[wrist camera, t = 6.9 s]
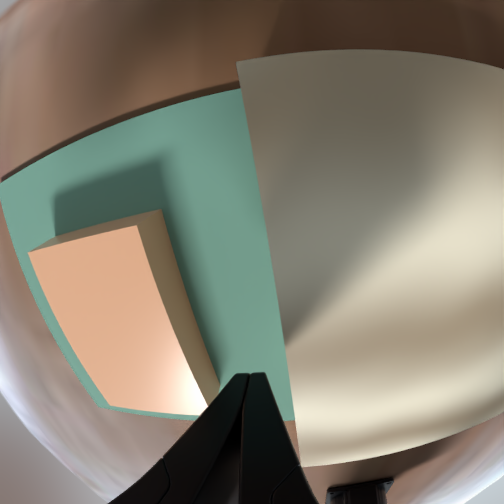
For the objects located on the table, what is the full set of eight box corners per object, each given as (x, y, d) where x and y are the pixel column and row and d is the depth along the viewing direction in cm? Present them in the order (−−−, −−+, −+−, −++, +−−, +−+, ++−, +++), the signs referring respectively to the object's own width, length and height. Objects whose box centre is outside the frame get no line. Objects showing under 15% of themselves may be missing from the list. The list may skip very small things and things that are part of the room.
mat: (301, 415, 14) (301, 419, 14) (100, 404, 16) (98, 406, 16) (251, 88, 8) (250, 86, 8) (0, 184, 11) (-3, 185, 10)
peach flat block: (109, 405, 12) (123, 381, 14) (212, 415, 11) (220, 385, 13) (27, 252, 9) (55, 236, 11) (136, 225, 8) (161, 208, 10)
